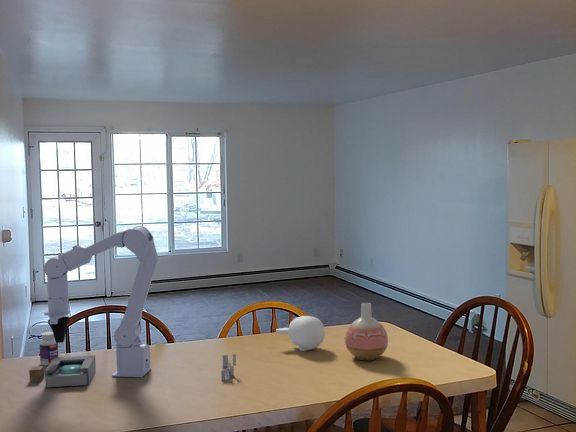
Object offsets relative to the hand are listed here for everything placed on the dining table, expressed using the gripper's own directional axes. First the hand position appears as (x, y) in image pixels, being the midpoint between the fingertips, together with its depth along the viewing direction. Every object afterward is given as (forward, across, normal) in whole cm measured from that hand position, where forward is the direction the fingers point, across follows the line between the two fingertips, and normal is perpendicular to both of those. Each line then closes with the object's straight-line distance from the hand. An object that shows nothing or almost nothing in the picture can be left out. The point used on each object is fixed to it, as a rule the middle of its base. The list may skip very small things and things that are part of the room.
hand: (60, 342), depth 182 cm
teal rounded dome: (+8, +5, +4) cm, 10 cm away
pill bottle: (+10, -12, -6) cm, 17 cm away
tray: (+10, +5, +4) cm, 12 cm away
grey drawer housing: (+10, +5, +4) cm, 12 cm away
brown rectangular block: (+10, +4, -6) cm, 12 cm away
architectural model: (+11, +14, +54) cm, 57 cm away
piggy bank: (+10, -14, +76) cm, 78 cm away
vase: (+10, +1, +94) cm, 94 cm away
